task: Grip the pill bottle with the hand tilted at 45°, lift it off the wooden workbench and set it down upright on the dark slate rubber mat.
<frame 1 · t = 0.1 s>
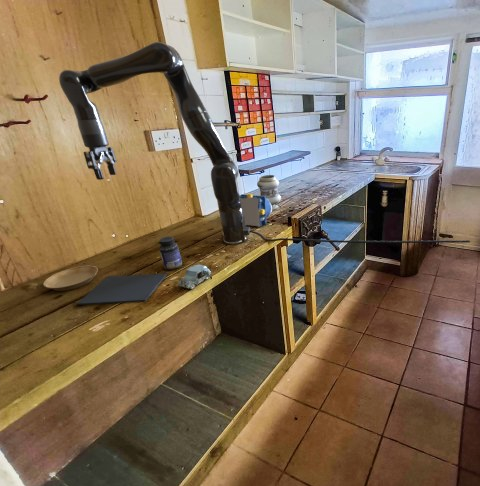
hand: (107, 176, 121), 29 cm above the workbench, tool pointing down, fingers open, 8 cm apart
plant saucer: (74, 283, 106), on the workbench
valve: (256, 222, 155), on the workbench
pill bottle: (173, 267, 114), on the workbench
mat: (125, 288, 101), on the workbench
apothecary jar: (270, 208, 174), on the workbench
toy car: (198, 283, 103), on the workbench
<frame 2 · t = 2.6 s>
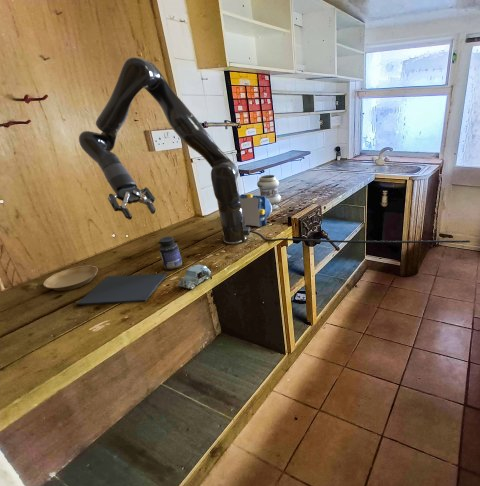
hand: (142, 215, 115), 17 cm above the workbench, tool tilted 40°, fingers open, 8 cm apart
nothing on the workbench moved.
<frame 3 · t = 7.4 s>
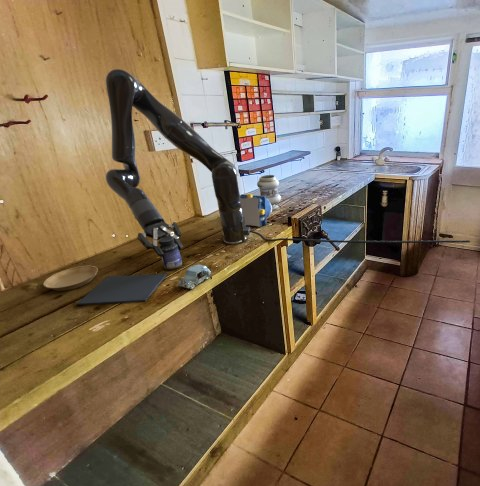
hand: (172, 252, 110), 6 cm above the workbench, tool tilted 45°, fingers closed on pill bottle, 6 cm apart
pill bottle: (173, 267, 114), on the workbench, touching gripper
everything else where it was.
when the fingers open (7 cm above the workbench, at t = 16.1 s): pill bottle stays where it is, resting on mat.
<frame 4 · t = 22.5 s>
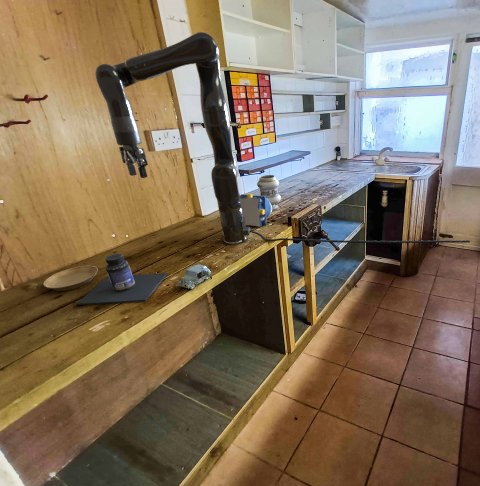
hand: (138, 176, 116), 30 cm above the workbench, tool pointing down, fingers open, 8 cm apart
pill bottle: (124, 287, 101), resting on mat
everything else where it was.
at the end: pill bottle inside the target area on the mat (0.2 cm from its centre), point 0.4 cm above the mat's base; pill bottle tilted 0°; pill bottle moved 17.2 cm from its start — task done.
